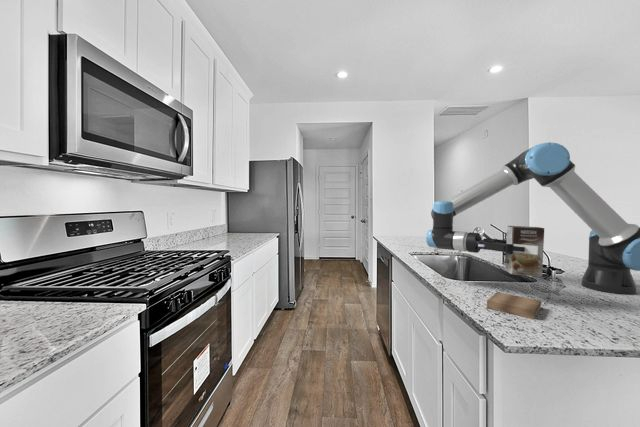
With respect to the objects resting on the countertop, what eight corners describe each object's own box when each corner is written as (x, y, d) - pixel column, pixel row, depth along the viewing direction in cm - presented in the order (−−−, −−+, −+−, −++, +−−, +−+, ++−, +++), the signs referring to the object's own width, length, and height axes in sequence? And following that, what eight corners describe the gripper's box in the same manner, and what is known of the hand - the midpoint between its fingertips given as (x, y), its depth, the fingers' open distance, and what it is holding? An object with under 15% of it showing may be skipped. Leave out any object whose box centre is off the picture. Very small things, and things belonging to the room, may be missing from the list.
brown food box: (511, 274, 98) (512, 227, 98) (504, 270, 104) (506, 225, 104) (543, 276, 96) (544, 227, 95) (534, 272, 102) (536, 226, 101)
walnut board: (540, 308, 91) (541, 300, 91) (534, 319, 83) (534, 310, 83) (497, 299, 100) (497, 292, 100) (486, 308, 91) (487, 300, 91)
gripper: (476, 248, 120) (544, 255, 105) (457, 255, 105) (534, 264, 89) (477, 230, 120) (545, 234, 104) (457, 234, 104) (534, 240, 89)
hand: (540, 248), depth 97 cm, fingers closed on brown food box, 9 cm apart
